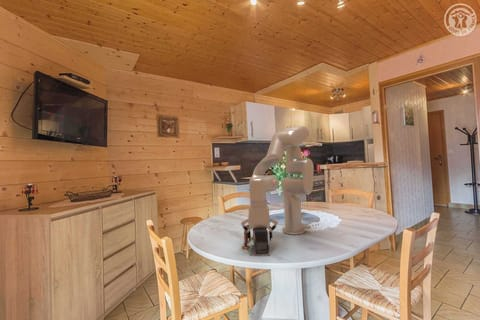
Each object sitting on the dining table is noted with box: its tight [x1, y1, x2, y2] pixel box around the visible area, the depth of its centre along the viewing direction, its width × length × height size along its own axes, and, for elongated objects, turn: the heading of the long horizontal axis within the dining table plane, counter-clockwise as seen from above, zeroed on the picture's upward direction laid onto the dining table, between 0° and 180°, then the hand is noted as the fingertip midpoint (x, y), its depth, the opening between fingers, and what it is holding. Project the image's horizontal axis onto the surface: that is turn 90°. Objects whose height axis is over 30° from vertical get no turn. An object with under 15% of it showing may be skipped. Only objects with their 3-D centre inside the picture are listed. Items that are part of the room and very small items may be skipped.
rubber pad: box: [249, 244, 271, 257], centre depth 108 cm, size 9×11×1 cm
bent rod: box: [241, 224, 253, 251], centre depth 118 cm, size 5×17×9 cm, turn 156°
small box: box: [252, 228, 269, 254], centre depth 108 cm, size 11×6×10 cm, turn 2°
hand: (260, 239), depth 108 cm, fingers open, 9 cm apart
